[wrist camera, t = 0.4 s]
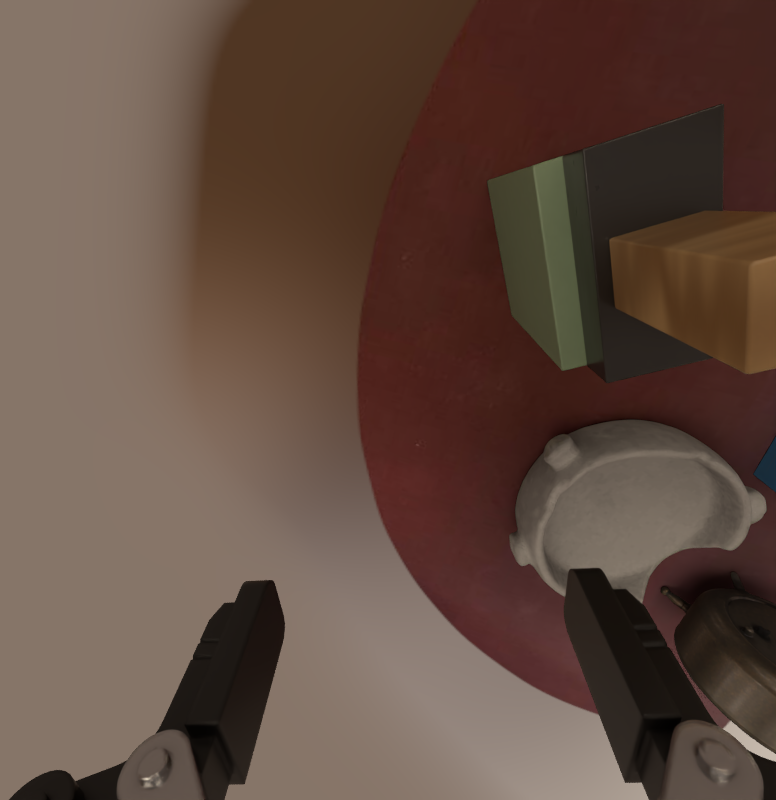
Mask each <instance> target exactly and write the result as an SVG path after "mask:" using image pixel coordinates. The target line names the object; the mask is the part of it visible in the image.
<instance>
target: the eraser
mask: <svg viewBox="0 0 776 800" xmlns="http://www.w3.org/2000/svg"><path fill="white" fill-rule="evenodd" d="M723 143H724V104H720V105H717V106H714V107H711V108H708V109H704V110H701V111H698V112H695V113H692V114H689V115H686V116H683V117H680V118H677V119H674V120H671V121H668V122H665V123H662V124H659V125H655V126H652V127H649V128H646V129H643V130H640V131H637V132H634V133H631V134H628V135H625V136H622V137H619V138H616V139H613V140H610V141H607V142H603V143H600V144H597V145H594V146H591V147H588V148H585V149H582V150H579V151H576V152H573V153H570V154H567V155H564V156H563V157H562V160H563V168H564V177H565V185H566V193H567V202H568V210H569V218H570V227H571V235H572V243H573V252H574V260H575V269H576V277H577V285H578V294H579V302H580V310H581V319H582V327H583V335H584V344H585V352H586V360H587V366H588V367H589V368H590V369H592V370H593V371H594V372H595V373H596V374H597V375H598V376H599V377H600V378H601V379H603V380H604V381H605V382H606V383H610V382H614V381H618V380H623V379H627V378H631V377H635V376H639V375H644V374H648V373H652V372H656V371H660V370H664V369H669V368H673V367H677V366H681V365H685V364H690V363H694V362H698V361H702V360H706V359H710V358H715V359H717V360H719V361H721V362H723V363H725V364H727V365H729V366H731V367H733V368H735V369H737V370H739V371H741V372H743V373H745V374H753V373H757V372H761V371H766V370H770V369H774V368H776V212H752V211H723Z"/></svg>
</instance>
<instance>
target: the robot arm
mask: <svg viewBox="0 0 776 800" xmlns="http://www.w3.org/2000/svg"><path fill="white" fill-rule="evenodd" d="M564 618H565V624H566V628H567V632H568V635H569V637H570V640H571V642H572V645H573V648H574V650H575V653H576V656H577V658H578V661H579V663H580V666H581V669H582V671H583V674H584V676H585V679H586V682H587V684H588V687H589V689H590V692H591V695H592V697H593V700H594V703H595V705H596V708H597V710H598V713H599V716H600V718H601V721H602V723H603V726H604V729H605V731H606V734H607V736H608V739H609V742H610V744H611V747H612V750H613V752H614V755H615V757H616V760H617V763H618V765H619V768H620V771H621V773H622V776H623V778H624V781H625V783H628V782H629V783H636V782H637V783H638V782H642V784H643V786H644V789H645V791H646V794H647V796H648V798H649V800H776V762H775V761H771V760H768V759H766V758H763V757H760V756H758V755H756V754H754V753H752V752H750V751H748V750H747V749H746V748H745V747H744V746H743V745H742V744H741V743H740V742H739V741H738V740H737V739H736V738H734V737H733V736H732V735H731V734H729V733H728V732H726V731H725V730H723V729H721V728H720V727H719V726H718V725H717V724H716V723H715V722H714V720H713V719H712V718H711V716H710V715H709V713H708V711H707V710H706V708H705V706H704V705H703V703H702V701H701V700H700V698H699V696H698V695H697V693H696V691H695V690H694V688H693V686H692V685H691V683H690V681H689V680H688V678H687V676H686V675H685V673H684V671H683V670H682V668H681V666H680V665H679V663H678V661H677V660H676V658H675V656H674V655H673V653H672V651H671V649H670V648H668V647H667V643H666V641H665V639H664V638H663V636H662V634H661V633H660V631H659V630H657V626H656V624H655V623H654V621H653V619H652V618H651V616H650V614H649V613H648V611H647V609H646V608H645V606H644V605H643V604H642V603H641V602H640V601H639V600H638V599H636V598H635V597H634V596H633V595H632V594H631V593H630V592H629V591H628V590H627V589H613V588H612V586H611V584H610V583H609V581H608V579H607V577H606V575H605V573H604V572H603V571H602V569H600V568H579V569H570V570H569V572H568V578H567V586H566V595H565V603H564ZM284 631H285V622H284V615H283V612H282V608H281V604H280V601H279V597H278V593H277V590H276V586H275V583H274V581H272V580H264V581H246V582H244V583H243V585H242V587H241V589H240V591H239V594H238V596H237V598H236V601H235V603H224V604H223V605H222V606H221V608H220V609H219V610H218V611H217V612H216V613H215V614H214V615H213V617H212V618H211V619H210V620H209V622H208V624H207V626H206V629H205V631H204V633H203V635H202V637H201V639H200V640H201V641H200V644H198V646H197V648H196V650H195V652H194V655H193V660H191V661H190V663H189V666H188V668H187V670H186V672H185V674H184V676H183V679H182V681H181V683H180V685H179V688H178V690H177V692H176V694H175V696H174V698H173V700H172V703H171V705H170V707H169V709H168V711H167V713H166V716H165V718H164V720H163V722H162V724H161V726H160V728H159V730H158V731H157V732H156V734H155V735H153V736H151V737H149V738H148V739H147V740H145V741H144V742H143V743H142V744H141V745H139V746H138V747H137V748H136V749H135V751H134V752H133V753H132V754H131V755H130V757H129V758H128V760H127V761H125V762H123V763H121V764H119V765H117V766H114V767H112V768H109V769H106V770H104V771H101V772H99V773H96V774H93V775H91V776H88V777H85V778H83V779H81V780H78V781H75V780H74V779H73V778H72V776H71V775H70V774H69V773H67V772H66V771H62V770H55V771H50V772H47V773H44V774H42V775H40V776H38V777H36V778H34V779H33V780H31V781H29V782H28V783H27V784H25V785H24V786H23V787H22V788H21V789H20V790H18V791H17V792H16V793H15V794H14V795H13V796H12V797H11V798H10V799H9V800H224V799H225V796H226V792H227V789H228V786H229V784H245V780H246V777H247V773H248V770H249V766H250V762H251V759H252V755H253V751H254V748H255V744H256V740H257V736H258V733H259V729H260V725H261V722H262V718H263V714H264V710H265V707H266V703H267V699H268V696H269V692H270V688H271V684H272V681H273V677H274V673H275V670H276V666H277V662H278V658H279V655H280V651H281V647H282V644H283V639H284Z"/></svg>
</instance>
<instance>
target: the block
mask: <svg viewBox="0 0 776 800" xmlns="http://www.w3.org/2000/svg"><path fill="white" fill-rule="evenodd" d="M707 109H708V108H707ZM658 125H659V124H658ZM609 141H610V140H609ZM606 142H607V141H606ZM562 157H563V156H561V157H557V158H554V159H551V160H548V161H545V162H542V163H539V164H536V165H533V166H530V167H527V168H524V169H521V170H518V171H515V172H512V173H509V174H505V175H502V176H499V177H496V178H493V179H490V180H488V181H487V184H488V190H489V195H490V200H491V206H492V211H493V217H494V222H495V228H496V233H497V238H498V244H499V249H500V255H501V260H502V265H503V271H504V276H505V282H506V287H507V292H508V298H509V303H510V309H511V314H512V316H513V317H514V318H515V320H516V321H517V322H518V323H519V324H520V325H521V326H522V327H523V328H524V329H525V330H526V332H527V333H528V334H529V335H530V336H531V337H532V338H533V339H534V340H535V341H536V343H537V344H538V345H539V346H540V347H541V348H542V349H543V350H544V351H545V352H546V353H547V355H548V356H549V357H550V358H551V359H552V360H553V361H554V362H555V363H556V364H557V365H558V367H559V368H560V369H561V370H562V371H565V370H569V369H573V368H577V367H581V366H585V365H587V360H586V352H585V344H584V335H583V327H582V319H581V310H580V302H579V294H578V285H577V277H576V269H575V260H574V252H573V243H572V235H571V227H570V218H569V210H568V202H567V193H566V185H565V177H564V168H563V160H562Z"/></svg>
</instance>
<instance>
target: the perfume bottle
mask: <svg viewBox="0 0 776 800" xmlns="http://www.w3.org/2000/svg"><path fill="white" fill-rule="evenodd" d="M753 475H755V476H756V477H757V478H758V479H760V480H761V481H762V482H764V483H765V484H766V485H767V486H769V487H770V488H771V489H772V490H774V491H775V492H776V437H775V439H774V440H773V442H772V444H771V445H770V447H769V449H768V450H767V452H766V454H765V455H764V457H763V459H762V460H761V462H760V464H759V466H758V467H757V469H756V471H755V472H754V474H753Z"/></svg>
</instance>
